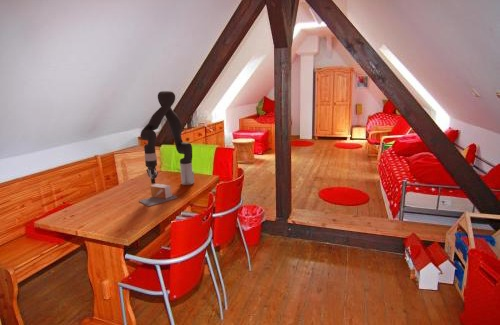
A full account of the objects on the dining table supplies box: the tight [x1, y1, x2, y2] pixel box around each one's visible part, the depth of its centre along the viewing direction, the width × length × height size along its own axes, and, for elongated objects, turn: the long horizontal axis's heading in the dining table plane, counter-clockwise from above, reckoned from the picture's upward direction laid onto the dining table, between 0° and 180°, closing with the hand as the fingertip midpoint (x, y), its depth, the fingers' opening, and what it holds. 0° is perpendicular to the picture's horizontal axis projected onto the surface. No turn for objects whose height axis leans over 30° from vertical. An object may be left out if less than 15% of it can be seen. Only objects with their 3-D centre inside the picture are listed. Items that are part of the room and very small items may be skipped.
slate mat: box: [138, 193, 179, 208], centre depth 210 cm, size 22×14×1 cm, turn 134°
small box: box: [149, 183, 172, 199], centre depth 214 cm, size 8×6×13 cm
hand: (153, 183), depth 212 cm, fingers closed
